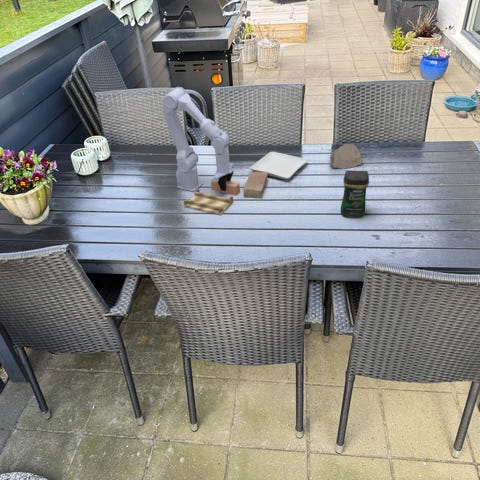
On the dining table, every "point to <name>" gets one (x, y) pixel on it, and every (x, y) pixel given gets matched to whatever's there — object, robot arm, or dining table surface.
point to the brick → (255, 185)
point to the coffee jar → (354, 193)
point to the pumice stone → (346, 157)
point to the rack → (208, 203)
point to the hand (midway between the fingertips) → (225, 188)
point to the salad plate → (279, 165)
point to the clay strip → (230, 187)
